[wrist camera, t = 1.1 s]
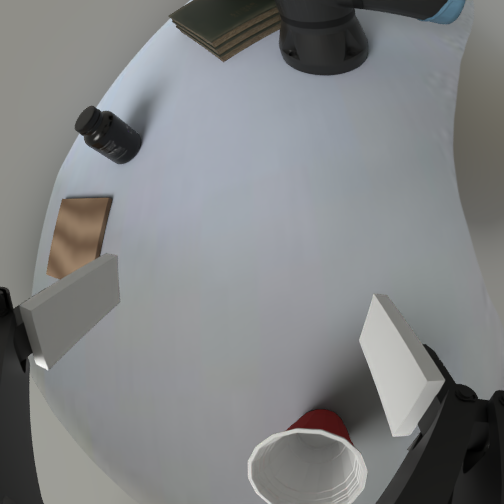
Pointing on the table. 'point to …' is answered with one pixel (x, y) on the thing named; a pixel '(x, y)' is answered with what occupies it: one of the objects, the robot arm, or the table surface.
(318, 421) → the plastic cup
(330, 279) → the table surface
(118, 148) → the supplement bottle
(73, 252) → the walnut board
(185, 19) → the stacked books
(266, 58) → the table surface
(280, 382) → the table surface
